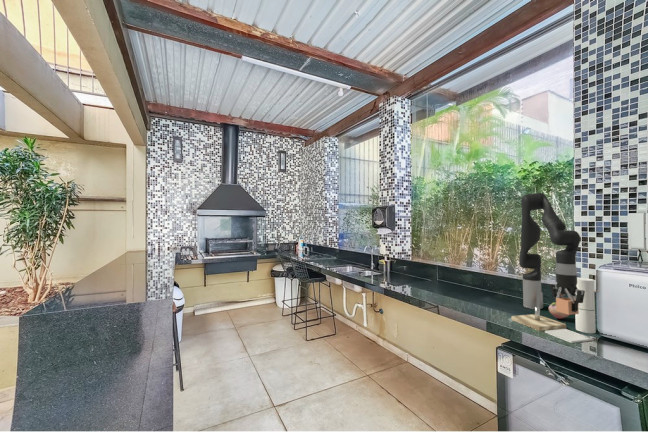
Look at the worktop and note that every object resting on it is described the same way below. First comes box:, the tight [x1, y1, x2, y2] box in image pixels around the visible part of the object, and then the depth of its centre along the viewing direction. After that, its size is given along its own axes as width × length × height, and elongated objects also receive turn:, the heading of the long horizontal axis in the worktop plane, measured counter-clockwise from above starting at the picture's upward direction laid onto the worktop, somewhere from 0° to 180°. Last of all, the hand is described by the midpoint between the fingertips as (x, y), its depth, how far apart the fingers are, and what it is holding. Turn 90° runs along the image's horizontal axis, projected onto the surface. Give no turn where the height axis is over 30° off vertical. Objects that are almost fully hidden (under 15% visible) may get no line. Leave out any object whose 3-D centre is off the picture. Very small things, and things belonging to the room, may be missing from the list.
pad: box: [544, 328, 594, 344], centre depth 130 cm, size 12×12×1 cm
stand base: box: [511, 313, 567, 332], centre depth 145 cm, size 16×16×2 cm
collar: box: [555, 297, 579, 316], centre depth 130 cm, size 6×6×6 cm
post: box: [534, 307, 541, 321], centre depth 146 cm, size 2×2×6 cm
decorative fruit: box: [548, 302, 570, 320], centre depth 152 cm, size 9×8×10 cm
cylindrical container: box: [574, 277, 597, 334], centre depth 137 cm, size 7×7×25 cm
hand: (567, 309), depth 130 cm, fingers closed on collar, 5 cm apart
